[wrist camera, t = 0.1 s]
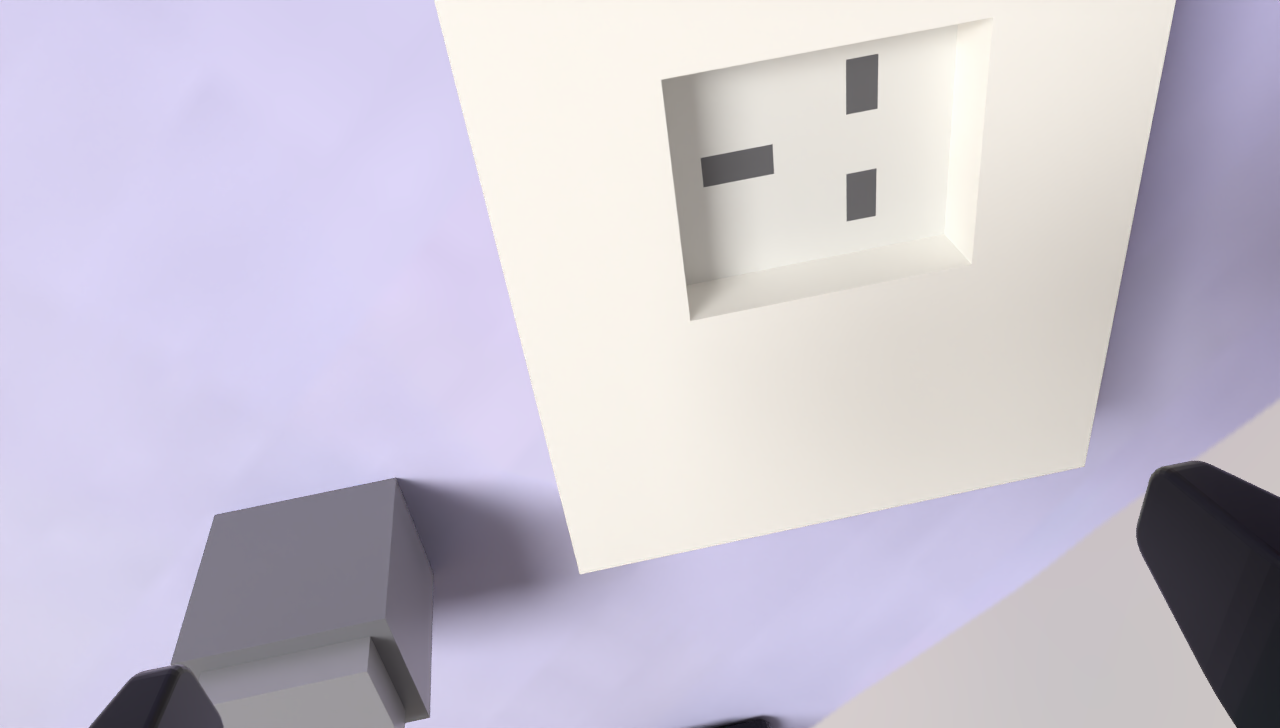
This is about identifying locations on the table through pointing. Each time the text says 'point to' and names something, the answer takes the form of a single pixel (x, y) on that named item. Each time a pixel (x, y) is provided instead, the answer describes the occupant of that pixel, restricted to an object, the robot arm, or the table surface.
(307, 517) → the plug
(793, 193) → the socket plate
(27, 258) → the table surface
